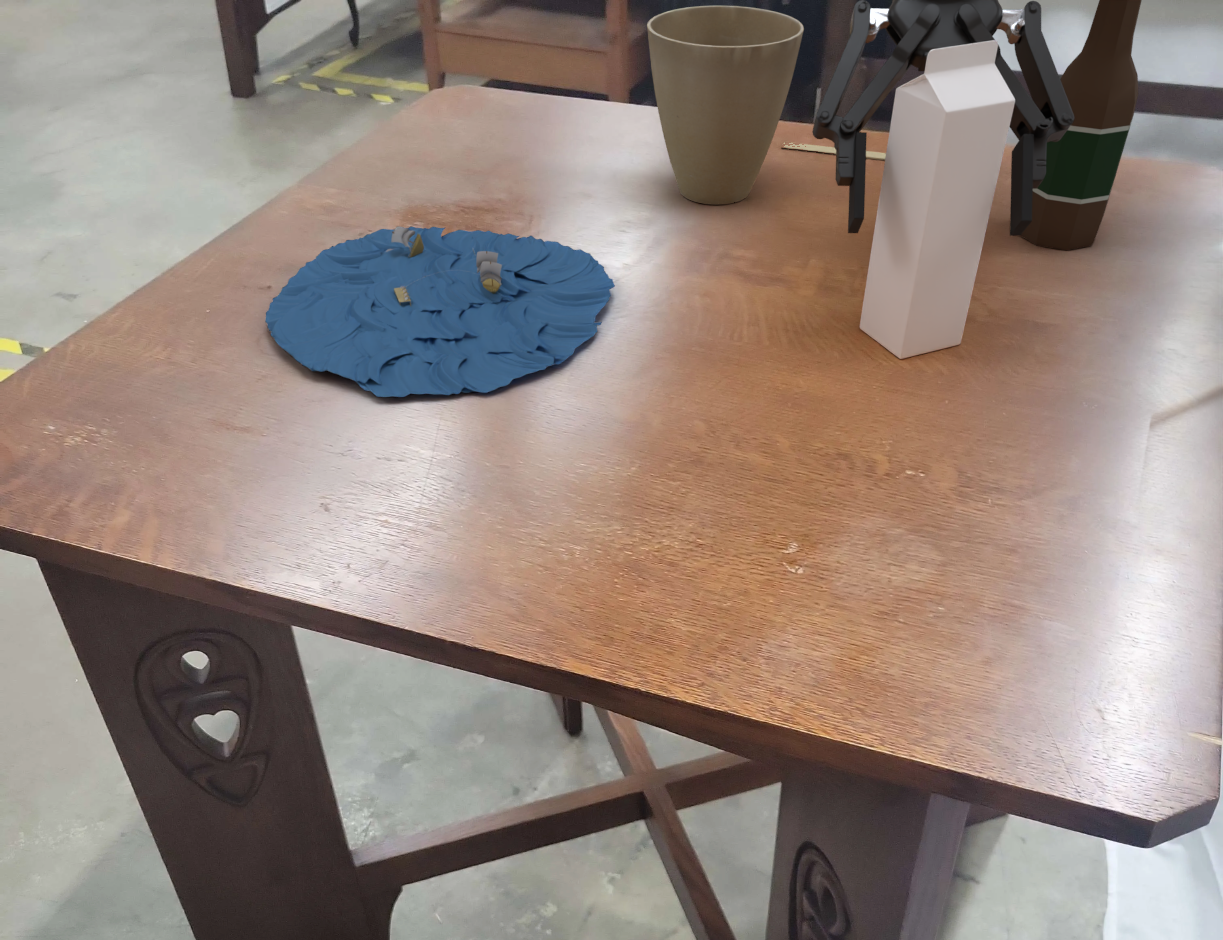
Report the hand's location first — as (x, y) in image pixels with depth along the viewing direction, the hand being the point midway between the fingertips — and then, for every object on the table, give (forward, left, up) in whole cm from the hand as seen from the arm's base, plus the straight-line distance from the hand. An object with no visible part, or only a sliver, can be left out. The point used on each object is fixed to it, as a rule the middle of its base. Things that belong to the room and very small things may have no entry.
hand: (937, 227), depth 80 cm
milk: (0, -3, -10) cm, 11 cm away
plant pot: (+21, -31, -10) cm, 39 cm away
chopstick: (+4, -45, -10) cm, 46 cm away
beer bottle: (-13, -27, -10) cm, 31 cm away
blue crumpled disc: (+39, +1, -10) cm, 41 cm away
